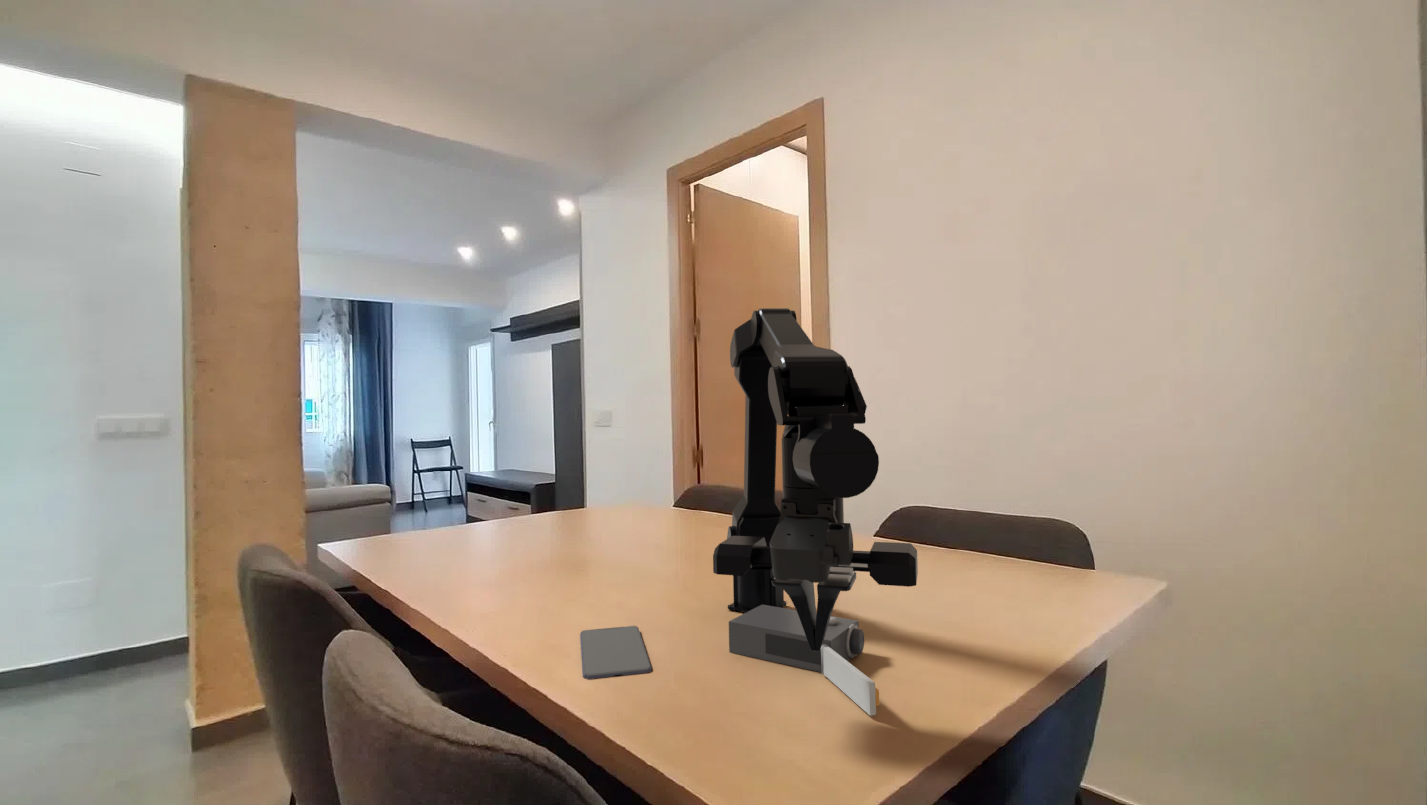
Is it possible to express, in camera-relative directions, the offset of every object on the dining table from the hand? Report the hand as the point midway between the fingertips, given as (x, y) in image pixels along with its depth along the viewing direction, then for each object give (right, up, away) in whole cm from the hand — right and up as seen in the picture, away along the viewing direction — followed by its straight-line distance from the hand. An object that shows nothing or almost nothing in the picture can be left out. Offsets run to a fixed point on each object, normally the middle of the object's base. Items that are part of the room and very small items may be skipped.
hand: (816, 650), depth 61 cm
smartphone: (-22, -7, +16) cm, 28 cm away
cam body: (0, -6, +15) cm, 16 cm away
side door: (+4, -5, +3) cm, 7 cm away
